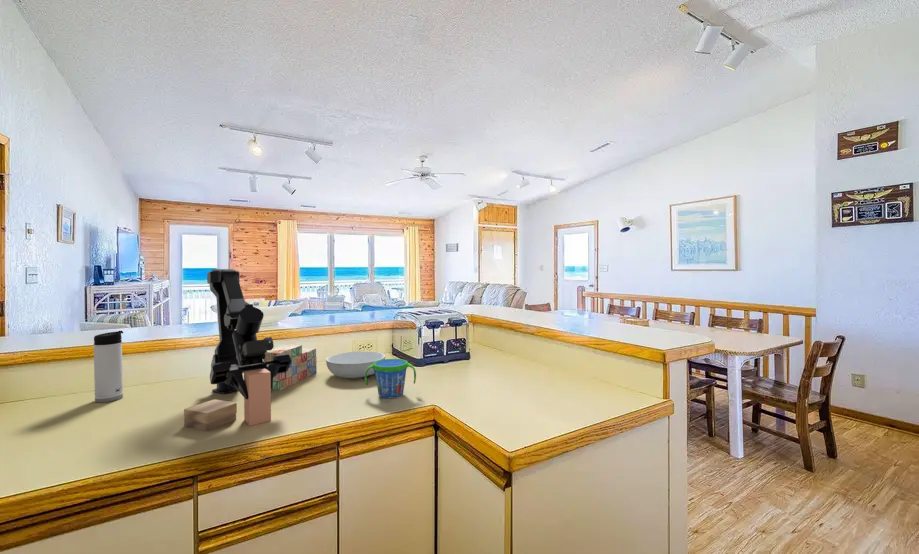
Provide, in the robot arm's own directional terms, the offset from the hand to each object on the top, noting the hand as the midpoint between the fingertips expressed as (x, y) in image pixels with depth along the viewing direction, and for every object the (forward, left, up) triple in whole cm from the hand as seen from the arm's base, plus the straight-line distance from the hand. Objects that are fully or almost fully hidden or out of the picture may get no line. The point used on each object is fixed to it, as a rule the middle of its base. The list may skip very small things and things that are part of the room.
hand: (258, 396), depth 101 cm
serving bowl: (-5, +46, -7) cm, 46 cm away
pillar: (-1, +1, -7) cm, 7 cm away
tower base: (-10, -6, -7) cm, 14 cm away
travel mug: (-55, -5, -7) cm, 56 cm away
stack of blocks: (-21, +31, -7) cm, 39 cm away
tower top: (-10, -6, -5) cm, 13 cm away
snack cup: (+19, +32, -7) cm, 37 cm away
